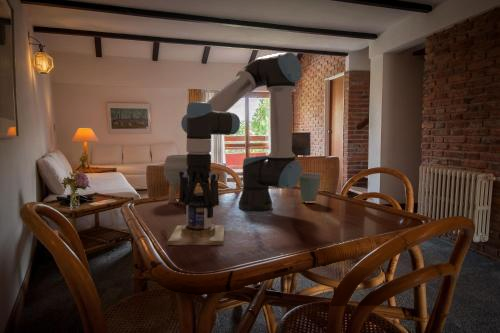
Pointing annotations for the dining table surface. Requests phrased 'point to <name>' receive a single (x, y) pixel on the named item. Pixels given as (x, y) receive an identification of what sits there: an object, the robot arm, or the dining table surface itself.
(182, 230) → the square socket plate
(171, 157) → the planter
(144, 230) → the dining table surface
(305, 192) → the disposable coffee cup
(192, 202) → the pill bottle
